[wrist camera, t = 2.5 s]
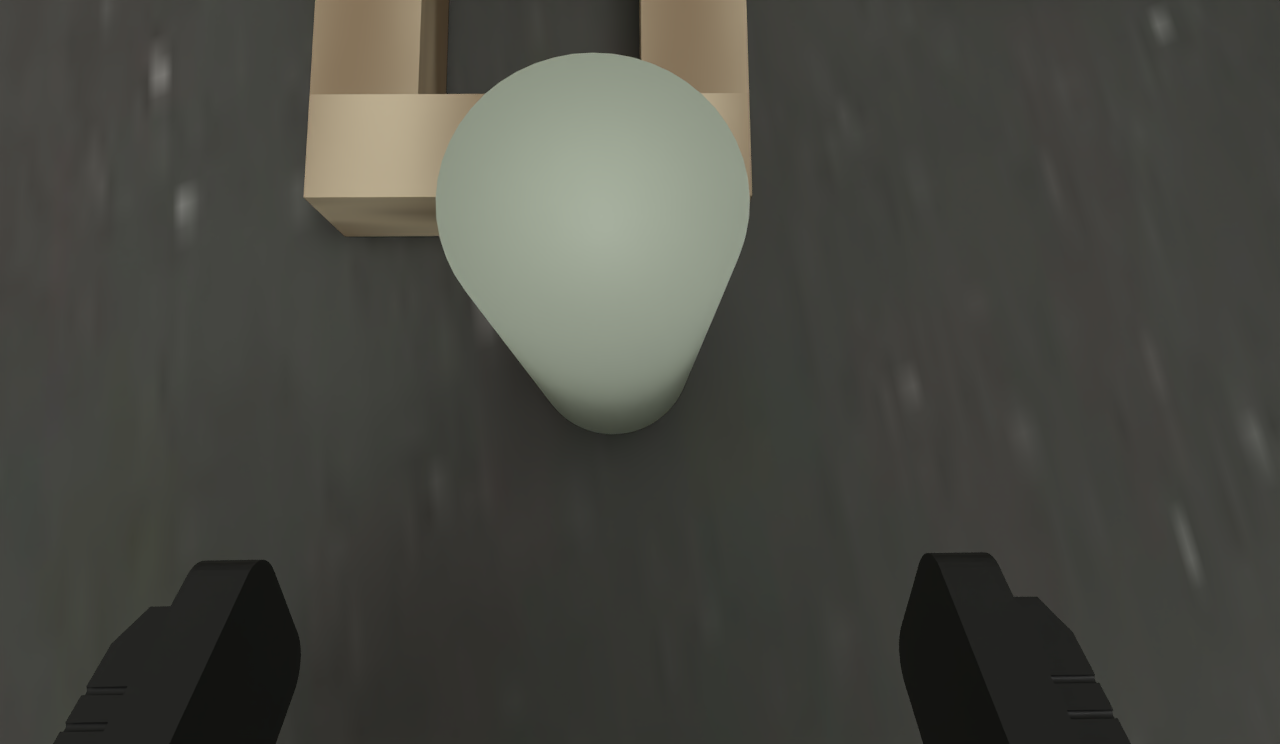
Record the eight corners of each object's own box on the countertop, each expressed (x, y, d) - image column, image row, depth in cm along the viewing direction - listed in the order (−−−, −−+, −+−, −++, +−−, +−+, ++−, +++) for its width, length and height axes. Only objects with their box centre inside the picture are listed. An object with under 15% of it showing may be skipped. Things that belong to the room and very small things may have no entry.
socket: (728, -116, 25) (740, -197, 22) (737, 234, 24) (752, 195, 21) (362, -115, 25) (327, -197, 22) (345, 236, 24) (303, 197, 21)
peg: (688, 283, 23) (745, 51, 12) (691, 434, 23) (753, 351, 11) (537, 284, 23) (440, 52, 12) (535, 434, 23) (430, 352, 11)
